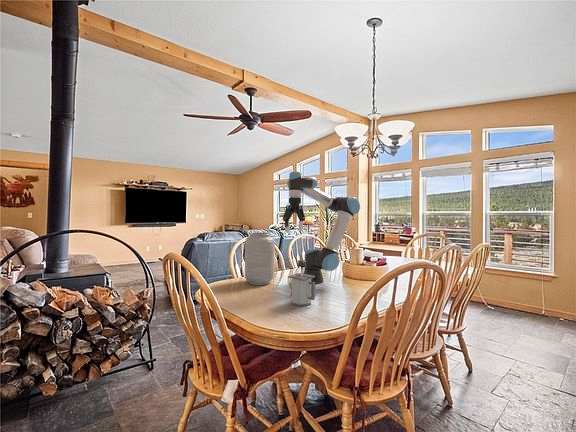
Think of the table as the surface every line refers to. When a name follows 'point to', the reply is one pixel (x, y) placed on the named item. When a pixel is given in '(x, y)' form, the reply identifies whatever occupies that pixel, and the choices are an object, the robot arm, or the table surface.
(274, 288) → the table surface
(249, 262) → the vase
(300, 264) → the plunger
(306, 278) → the grey french press
